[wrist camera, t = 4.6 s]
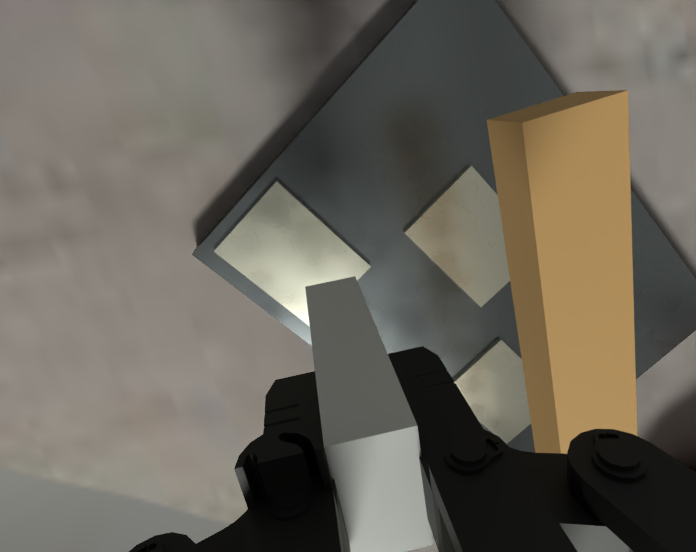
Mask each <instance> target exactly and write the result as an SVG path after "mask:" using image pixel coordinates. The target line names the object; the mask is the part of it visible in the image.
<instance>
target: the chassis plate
mask: <svg viewBox="0 0 696 552" xmlns="http://www.w3.org/2000/svg"><path fill="white" fill-rule="evenodd" d="M563 96H564V95H563V94H562V92H561V91H560V89H559V88H558V87H557V85H556V84H555V82H554V81H553V80H552V78H551V77H550V76H549V74H548V73H547V71H546V70H545V69H544V67H543V66H542V64H541V63H540V62H539V60H538V59H537V57H536V56H535V55H534V53H533V52H532V51H531V49H530V48H529V46H528V45H527V44H526V42H525V41H524V39H523V38H522V37H521V35H520V34H519V32H518V31H517V30H516V28H515V27H514V26H513V24H512V23H511V21H510V20H509V19H508V17H507V16H506V14H505V13H504V12H503V10H502V9H501V7H500V6H499V5H498V3H497V2H496V1H495V0H416V1H415V2H414V3H413V4H412V5H411V6H410V8H409V9H408V10H407V11H406V12H405V13H404V14H403V15H402V17H401V18H400V19H399V20H398V21H397V22H396V23H395V24H394V26H393V27H392V28H391V29H390V30H389V31H388V32H387V33H386V35H385V36H384V37H383V38H382V39H381V40H380V41H379V42H378V44H377V45H376V46H375V47H374V48H373V49H372V50H371V51H370V53H369V54H368V55H367V56H366V57H365V58H364V59H363V60H362V62H361V63H360V64H359V65H358V66H357V67H356V68H355V69H354V71H353V72H352V73H351V74H350V75H349V76H348V77H347V78H346V80H345V81H344V82H343V83H342V84H341V85H340V86H339V87H338V89H337V90H336V91H335V92H334V93H333V94H332V95H331V96H330V98H329V99H328V100H327V101H326V102H325V103H324V104H323V105H322V106H321V108H320V109H319V110H318V111H317V112H316V113H315V114H314V115H313V117H312V118H311V119H310V120H309V121H308V122H307V123H306V124H305V126H304V127H303V128H302V129H301V130H300V131H299V132H298V133H297V135H296V136H295V137H294V138H293V139H292V140H291V141H290V142H289V144H288V145H287V146H286V147H285V148H284V149H283V150H282V151H281V153H280V154H279V155H278V156H277V157H276V158H275V159H274V160H273V162H272V163H271V164H270V165H269V166H268V167H267V168H266V169H265V171H264V172H263V173H262V174H261V175H260V176H259V177H258V178H257V180H256V181H255V182H254V183H253V184H252V185H251V186H250V187H249V189H248V190H247V191H246V192H245V193H244V194H243V195H242V196H241V198H240V199H239V200H238V201H237V202H236V203H235V204H234V205H233V207H232V208H231V209H230V210H229V211H228V212H227V213H226V214H225V216H224V217H223V218H222V219H221V220H220V221H219V222H218V223H217V225H216V226H215V227H214V228H213V229H212V230H211V231H210V232H209V234H208V235H207V236H206V237H205V238H204V239H203V240H202V241H201V243H200V244H199V245H198V246H197V247H196V249H195V250H194V252H193V254H192V255H193V256H195V257H196V258H197V259H198V260H200V261H201V262H202V263H204V264H205V265H206V266H208V267H209V268H210V269H212V270H213V271H214V272H216V273H217V274H218V275H219V276H221V277H222V278H223V279H225V280H226V281H227V282H229V283H230V284H231V285H233V286H234V287H235V288H236V289H238V290H239V291H240V292H242V293H243V294H244V295H246V296H247V297H248V298H250V299H251V300H252V301H254V302H255V303H256V304H257V305H259V306H260V307H261V308H263V309H264V310H265V311H267V312H268V313H269V314H271V315H272V316H273V317H274V318H276V319H277V320H278V321H280V322H281V323H282V324H284V325H285V326H286V327H288V328H289V329H290V330H292V331H293V332H294V333H295V334H297V335H298V336H299V337H301V338H302V339H303V340H305V341H306V342H307V343H309V344H310V345H311V346H312V341H311V333H310V324H309V316H308V307H307V299H306V290H305V287H306V286H311V285H315V284H320V283H325V282H330V281H335V280H340V279H344V278H349V277H354V276H355V277H356V279H357V282H358V284H359V286H360V289H361V291H362V294H363V296H364V298H365V301H366V303H367V306H368V308H369V310H370V313H371V315H372V318H373V320H374V322H375V325H376V327H377V330H378V332H379V334H380V337H381V339H382V342H383V344H384V346H385V349H386V351H387V354H389V353H394V352H398V351H403V350H407V349H412V348H417V347H421V346H424V347H425V348H427V349H428V350H430V351H432V352H433V353H435V354H436V355H438V356H439V357H440V359H441V361H442V362H443V364H444V366H445V367H446V369H447V372H449V374H450V375H451V377H452V379H453V380H454V383H455V384H456V385H457V387H458V388H459V390H460V392H461V393H462V395H463V396H464V398H465V400H466V401H467V403H468V404H469V406H470V408H471V409H472V411H473V413H474V414H475V416H476V417H477V419H478V421H479V422H480V424H481V426H482V427H483V429H484V430H487V431H489V432H491V433H493V434H495V435H497V436H499V437H500V438H501V439H502V440H503V441H504V442H505V443H506V444H507V445H508V446H509V447H510V448H513V449H517V450H520V451H526V452H534V453H535V446H534V440H533V433H532V426H531V419H530V412H529V405H528V399H527V392H526V385H525V378H524V371H523V365H522V358H521V351H520V344H519V337H518V331H517V324H516V317H515V310H514V303H513V297H512V290H511V283H510V276H509V269H508V262H507V256H506V249H505V242H504V235H503V228H502V222H501V215H500V208H499V201H498V194H497V188H496V181H495V174H494V167H493V160H492V153H491V147H490V140H489V133H488V126H487V120H488V119H491V118H495V117H498V116H501V115H504V114H508V113H511V112H514V111H517V110H521V109H524V108H527V107H530V106H534V105H537V104H540V103H543V102H547V101H550V100H553V99H556V98H560V97H563ZM631 222H632V259H633V296H634V333H635V370H636V379H637V378H638V377H639V376H641V375H642V374H643V373H644V372H645V371H647V370H648V369H649V368H650V367H652V366H653V365H654V364H655V363H656V362H658V361H659V360H660V359H661V358H662V357H664V356H665V355H666V354H667V353H669V352H670V351H671V350H672V349H673V348H675V347H676V346H677V345H678V344H679V343H681V342H682V341H683V340H684V339H686V338H687V337H688V336H689V335H690V334H692V333H693V332H694V331H695V330H696V278H695V277H694V276H693V274H692V273H691V271H690V270H689V269H688V267H687V266H686V264H685V263H684V262H683V260H682V259H681V258H680V256H679V255H678V253H677V252H676V251H675V249H674V248H673V246H672V245H671V244H670V242H669V241H668V239H667V238H666V237H665V235H664V234H663V233H662V231H661V230H660V228H659V227H658V226H657V224H656V223H655V221H654V220H653V219H652V217H651V216H650V214H649V213H648V212H647V210H646V209H645V208H644V206H643V205H642V203H641V202H640V201H639V199H638V198H637V196H636V195H635V194H634V192H633V191H632V189H631Z"/></svg>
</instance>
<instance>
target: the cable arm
mask: <svg viewBox="0 0 696 552" xmlns="http://www.w3.org/2000/svg"><path fill="white" fill-rule="evenodd" d="M487 126H488V133H489V140H490V147H491V153H492V160H493V167H494V174H495V181H496V188H497V194H498V201H499V208H500V215H501V222H502V228H503V235H504V242H505V249H506V256H507V262H508V269H509V276H510V283H511V290H512V297H513V303H514V310H515V317H516V324H517V331H518V337H519V344H520V351H521V358H522V365H523V371H524V378H525V385H526V392H527V399H528V405H529V412H530V419H531V426H532V433H533V440H534V446H535V453H563V454H567V452H568V448H569V445H570V442H571V440H573V439H574V438H575V437H576V436H577V435H579V434H580V433H582V432H586V431H589V430H593V429H615V430H619V431H623V432H627V433H631V434H634V435H636V436H637V407H636V370H635V333H634V296H633V259H632V222H631V185H630V148H629V111H628V90H621V91H595V92H576V93H573V94H569V95H566V96H563V97H560V98H556V99H553V100H550V101H547V102H543V103H540V104H537V105H534V106H530V107H527V108H524V109H521V110H517V111H514V112H511V113H508V114H504V115H501V116H498V117H495V118H491V119H488V120H487Z"/></svg>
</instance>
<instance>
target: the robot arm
mask: <svg viewBox="0 0 696 552" xmlns="http://www.w3.org/2000/svg"><path fill="white" fill-rule="evenodd" d="M305 290H306V299H307V307H308V316H309V324H310V333H311V341H312V350H313V358H314V367H315V371H314V372H310V373H305V374H301V375H296V376H292V377H287V378H283V379H278V380H275V382H274V383H273V385H272V387H271V388H270V390H269V391H268V393H267V395H266V402H265V418H264V427H265V428H264V434H263V435H261V436H260V437H258V438H257V439H255V440H254V441H252V442H251V443H250V444H249V445H248V446H247V447H246V448H245V449H244V451H243V452H242V453H241V454H240V455H239V458H238V460H237V463H236V466H235V472H236V475H237V478H238V481H239V484H240V486H241V489H242V492H243V495H244V498H245V501H246V504H247V507H248V510H247V511H246V512H245V513H244V514H243V515H242V516H241V517H240V518H238V519H237V520H236V521H235V522H234V523H232V524H231V525H229V526H228V527H226V528H224V529H223V530H221V531H219V532H217V533H215V534H214V535H212V536H210V537H208V538H206V539H205V540H202V541H201V542H199V543H197V544H195V543H194V542H193V541H192V540H191V539H190V538H189V537H188V536H187V535H183V534H178V533H172V532H171V533H166V534H162V535H157V536H154V537H152V538H150V539H148V540H146V541H144V542H142V543H140V544H138V545H136V546H135V547H134V548H133V549H132V550H130V551H129V552H406V551H410V550H414V549H418V548H422V547H426V546H430V545H433V537H432V533H433V536H434V539H435V542H436V545H437V547H438V550H439V552H696V472H694V471H693V470H691V469H690V468H688V467H687V466H685V465H683V464H682V463H680V462H679V461H677V460H676V459H674V458H673V457H671V456H670V455H668V454H667V453H665V452H664V451H662V450H661V449H659V448H658V447H656V446H655V445H653V444H652V443H650V442H648V441H646V440H644V439H642V438H640V437H638V436H636V435H634V434H631V433H627V432H623V431H619V430H615V429H593V430H589V431H586V432H582V433H580V434H579V435H577V436H576V437H575V438H574V439H573V440H571V442H570V445H569V448H568V452H567V454H563V453H534V452H526V451H520V450H517V449H513V448H510V447H509V446H508V445H507V444H506V443H505V442H504V441H503V440H502V439H501V438H500V437H499V436H497V435H495V434H493V433H491V432H489V431H487V430H484V429H483V427H482V426H481V424H480V422H479V421H478V419H477V417H476V416H475V414H474V413H473V411H472V409H471V408H470V406H469V404H468V403H467V401H466V400H465V398H464V396H463V395H462V393H461V392H460V390H459V388H458V387H457V385H456V384H455V383H454V380H453V379H452V377H451V375H450V374H449V372H447V369H446V367H445V366H444V364H443V362H442V361H441V359H440V357H439V356H438V355H436V354H435V353H433V352H432V351H430V350H428V349H427V348H425V347H424V346H421V347H417V348H412V349H407V350H403V351H398V352H394V353H389V354H387V351H386V349H385V346H384V344H383V342H382V339H381V337H380V334H379V332H378V330H377V327H376V325H375V322H374V320H373V318H372V315H371V313H370V310H369V308H368V306H367V303H366V301H365V298H364V296H363V294H362V291H361V289H360V286H359V284H358V282H357V279H356V277H355V276H354V277H349V278H344V279H340V280H335V281H330V282H325V283H320V284H315V285H311V286H306V287H305Z"/></svg>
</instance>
